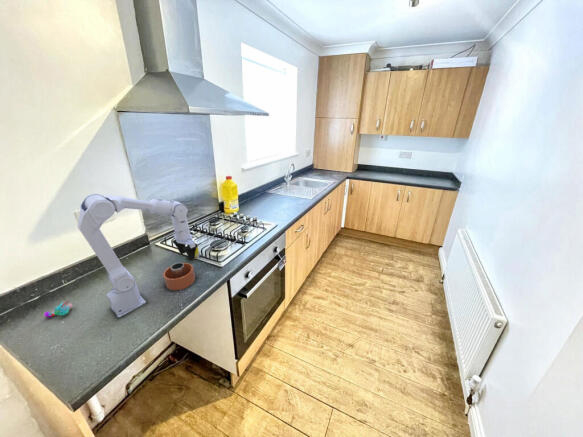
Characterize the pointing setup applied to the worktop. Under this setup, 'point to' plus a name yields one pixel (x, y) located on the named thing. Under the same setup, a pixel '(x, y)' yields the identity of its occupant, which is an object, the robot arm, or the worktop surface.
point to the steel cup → (178, 270)
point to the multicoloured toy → (63, 310)
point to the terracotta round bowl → (179, 282)
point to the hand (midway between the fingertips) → (187, 256)
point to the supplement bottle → (196, 250)
